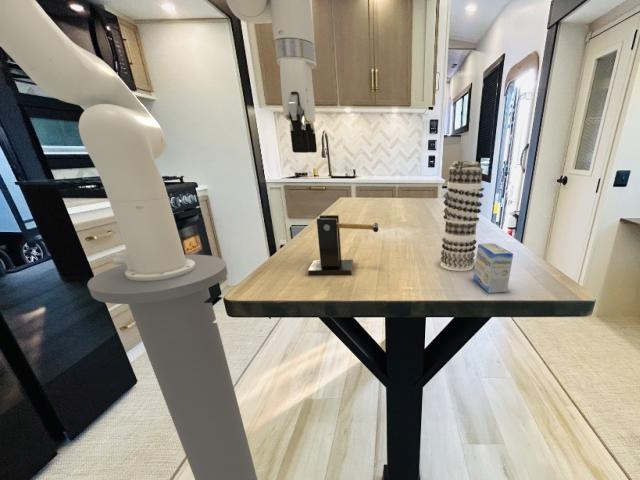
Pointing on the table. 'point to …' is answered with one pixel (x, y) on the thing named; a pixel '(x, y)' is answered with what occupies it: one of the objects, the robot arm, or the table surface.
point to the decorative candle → (461, 215)
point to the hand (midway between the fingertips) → (305, 152)
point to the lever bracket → (329, 249)
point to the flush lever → (358, 226)
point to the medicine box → (492, 267)
